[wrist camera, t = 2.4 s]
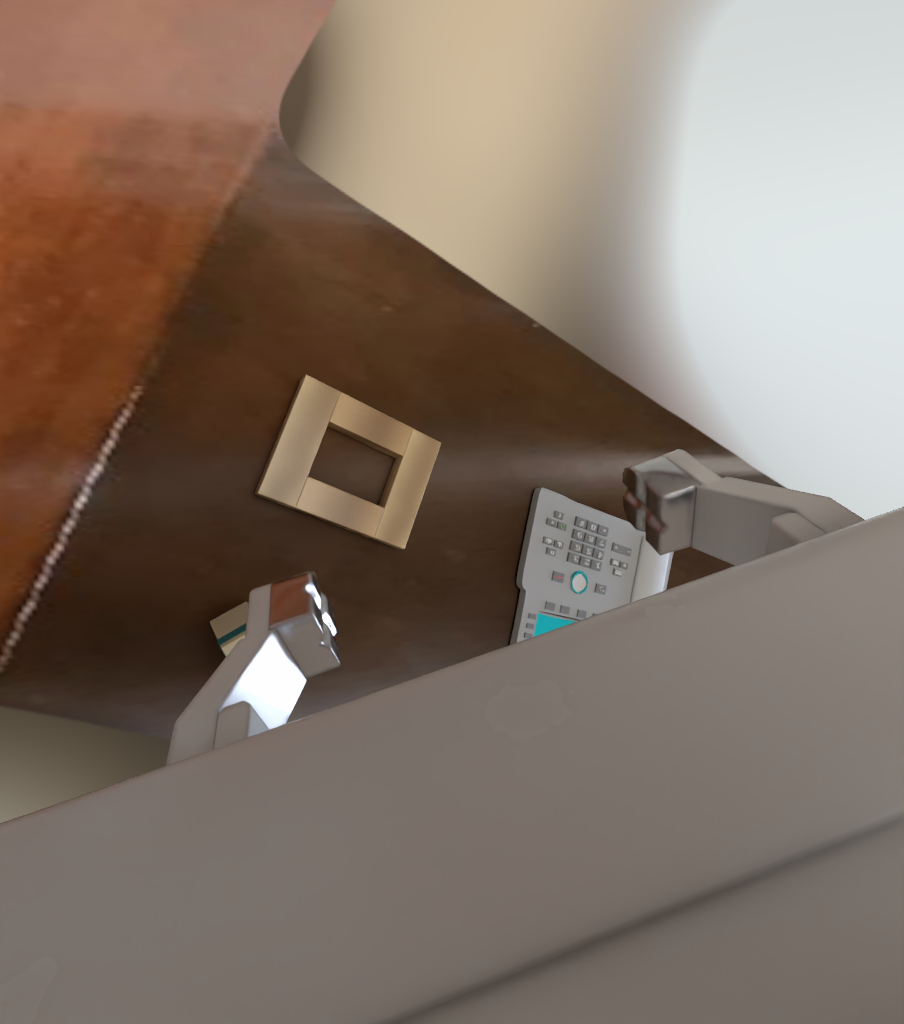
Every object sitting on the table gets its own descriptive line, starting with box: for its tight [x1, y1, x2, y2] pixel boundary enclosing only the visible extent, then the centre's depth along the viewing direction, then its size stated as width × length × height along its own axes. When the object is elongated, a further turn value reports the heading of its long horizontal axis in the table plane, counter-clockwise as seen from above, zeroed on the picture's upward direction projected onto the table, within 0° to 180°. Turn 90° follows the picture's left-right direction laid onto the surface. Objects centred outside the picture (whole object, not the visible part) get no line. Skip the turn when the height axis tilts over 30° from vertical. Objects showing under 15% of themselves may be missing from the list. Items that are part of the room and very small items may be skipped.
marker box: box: [210, 602, 248, 657], centre depth 40 cm, size 6×3×10 cm, turn 27°
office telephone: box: [510, 487, 673, 645], centre depth 62 cm, size 23×3×20 cm
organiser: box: [254, 375, 441, 549], centre depth 48 cm, size 14×11×2 cm
